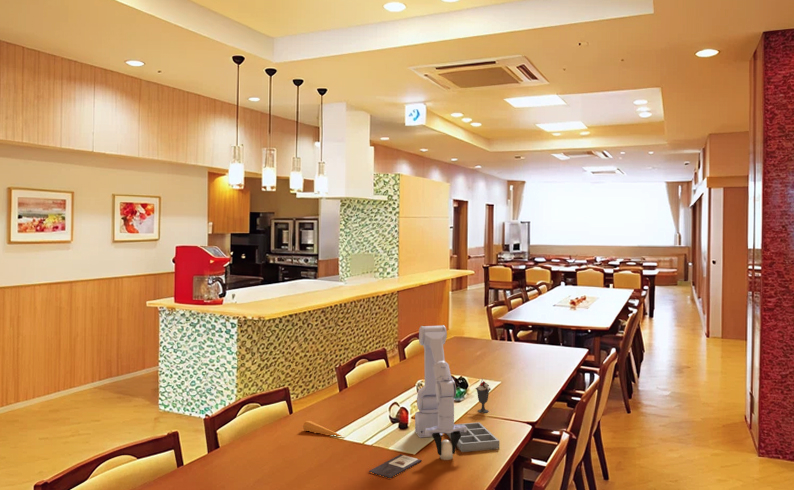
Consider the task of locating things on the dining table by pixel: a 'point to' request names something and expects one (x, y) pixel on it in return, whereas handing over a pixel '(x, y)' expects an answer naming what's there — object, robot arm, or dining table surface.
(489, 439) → the grey compartment tray
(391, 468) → the chocolate bar
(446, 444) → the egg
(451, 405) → the robot arm
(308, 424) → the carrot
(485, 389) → the sundae
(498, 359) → the dining table surface
